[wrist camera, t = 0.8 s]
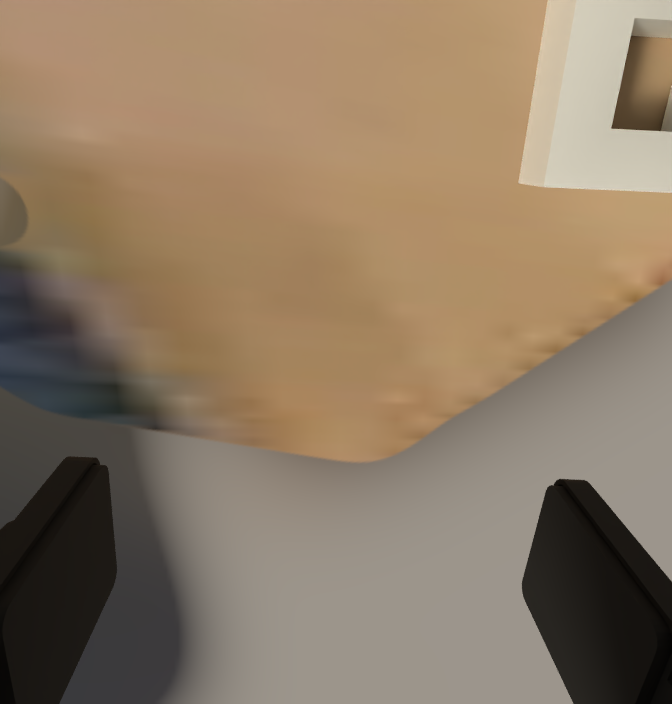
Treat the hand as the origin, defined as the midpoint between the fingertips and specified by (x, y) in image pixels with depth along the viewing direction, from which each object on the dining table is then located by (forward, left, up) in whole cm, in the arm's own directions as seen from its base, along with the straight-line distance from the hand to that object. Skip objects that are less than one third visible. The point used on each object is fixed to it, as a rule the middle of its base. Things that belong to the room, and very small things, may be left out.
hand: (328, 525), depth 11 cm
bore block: (-12, +19, -27) cm, 35 cm away
